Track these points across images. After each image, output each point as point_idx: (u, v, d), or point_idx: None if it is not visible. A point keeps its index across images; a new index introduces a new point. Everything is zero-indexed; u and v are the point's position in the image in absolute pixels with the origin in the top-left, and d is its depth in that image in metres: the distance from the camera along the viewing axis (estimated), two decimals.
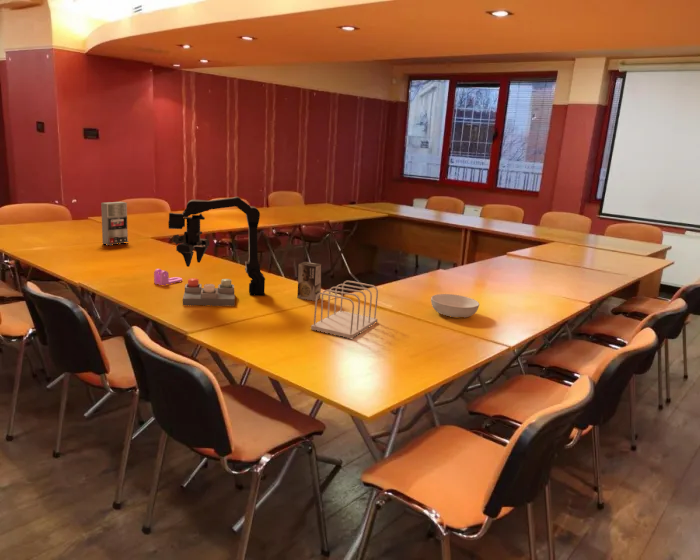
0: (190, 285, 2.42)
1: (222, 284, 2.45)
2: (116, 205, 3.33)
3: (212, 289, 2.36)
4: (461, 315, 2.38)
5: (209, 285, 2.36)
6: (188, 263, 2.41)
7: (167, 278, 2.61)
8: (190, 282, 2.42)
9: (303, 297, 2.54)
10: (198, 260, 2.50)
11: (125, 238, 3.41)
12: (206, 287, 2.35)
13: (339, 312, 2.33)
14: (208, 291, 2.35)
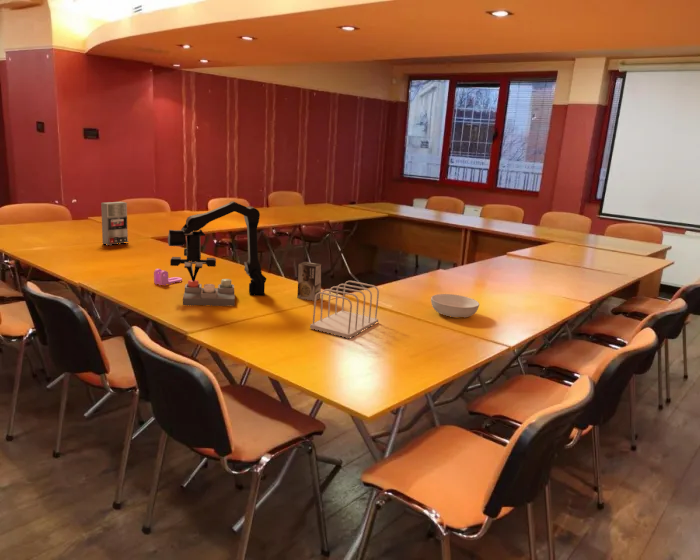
0: (190, 286, 2.42)
1: (222, 284, 2.45)
2: (116, 205, 3.33)
3: (212, 289, 2.36)
4: (461, 315, 2.38)
5: (209, 285, 2.36)
6: (191, 277, 2.43)
7: (167, 278, 2.61)
8: (190, 283, 2.42)
9: (303, 297, 2.54)
10: None
11: (125, 238, 3.41)
12: (206, 287, 2.35)
13: (340, 312, 2.34)
14: (208, 291, 2.35)
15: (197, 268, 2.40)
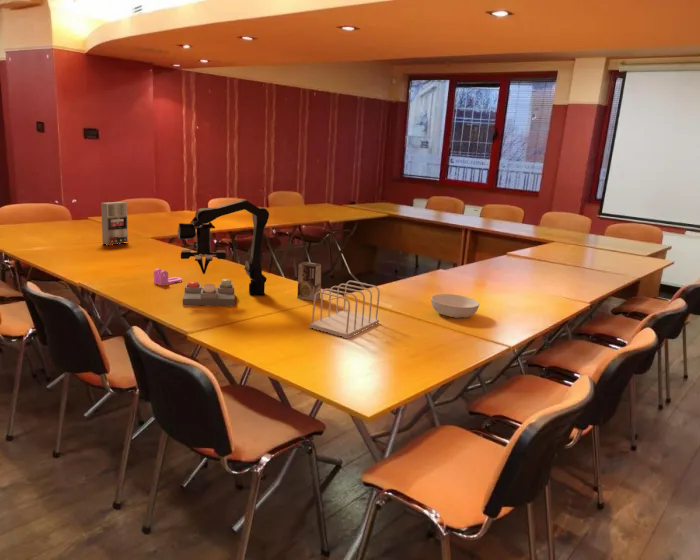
0: None
1: (222, 284, 2.45)
2: (116, 205, 3.33)
3: (212, 289, 2.36)
4: (461, 315, 2.38)
5: (209, 285, 2.36)
6: None
7: (167, 278, 2.61)
8: (190, 285, 2.42)
9: (303, 297, 2.54)
10: None
11: (125, 238, 3.41)
12: (206, 287, 2.35)
13: (342, 312, 2.34)
14: (208, 291, 2.35)
15: (207, 261, 2.40)
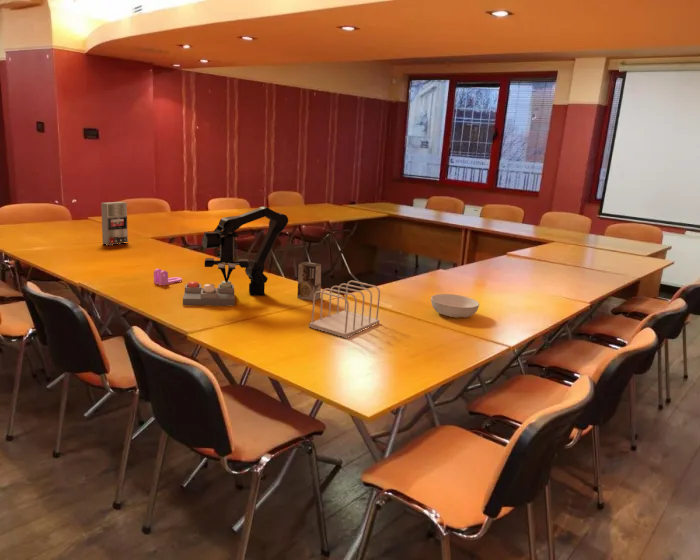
0: None
1: (222, 286, 2.46)
2: (116, 205, 3.33)
3: (212, 289, 2.36)
4: (461, 315, 2.38)
5: (209, 285, 2.36)
6: (224, 278, 2.46)
7: (167, 278, 2.61)
8: (190, 285, 2.42)
9: (303, 297, 2.54)
10: None
11: (125, 238, 3.41)
12: (206, 287, 2.35)
13: (343, 312, 2.34)
14: (208, 291, 2.35)
15: (230, 269, 2.43)
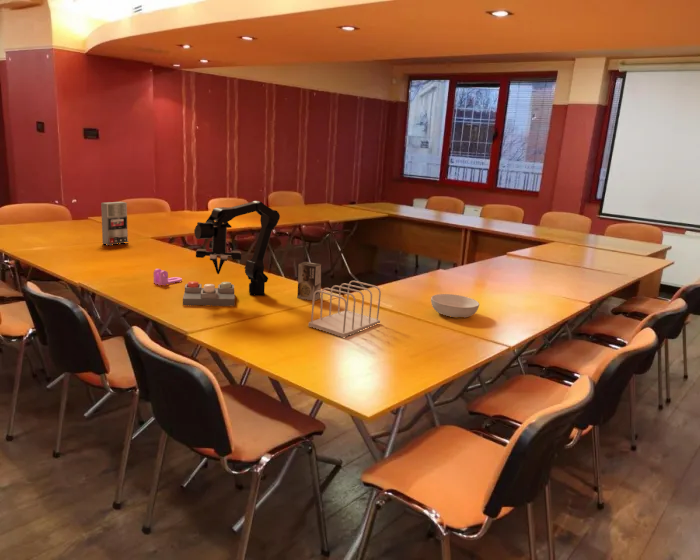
0: None
1: (222, 287, 2.46)
2: (116, 205, 3.33)
3: (212, 289, 2.36)
4: (461, 315, 2.38)
5: (209, 285, 2.36)
6: (216, 270, 2.40)
7: (166, 278, 2.61)
8: (190, 285, 2.42)
9: (303, 297, 2.54)
10: None
11: (125, 238, 3.41)
12: (206, 287, 2.35)
13: (344, 311, 2.35)
14: (208, 291, 2.35)
15: (222, 261, 2.38)
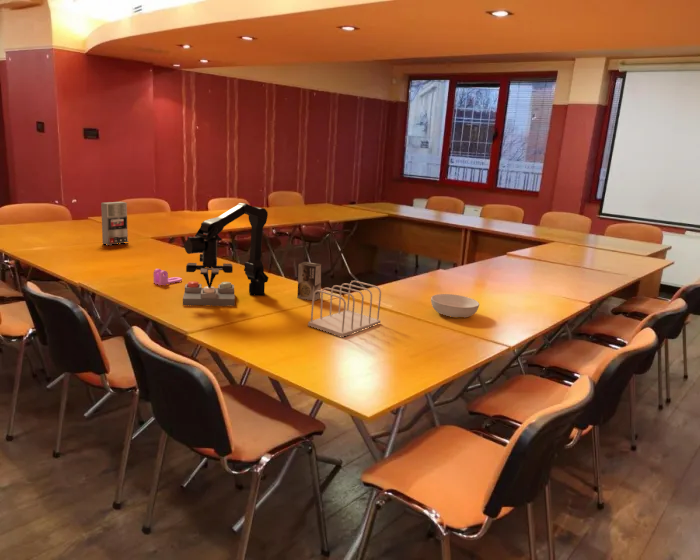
0: None
1: (222, 287, 2.46)
2: (116, 205, 3.33)
3: (212, 291, 2.36)
4: (461, 315, 2.38)
5: None
6: (207, 284, 2.36)
7: (166, 278, 2.61)
8: (190, 285, 2.42)
9: (303, 297, 2.54)
10: None
11: (125, 238, 3.41)
12: (206, 289, 2.35)
13: (345, 311, 2.35)
14: None
15: (213, 274, 2.33)
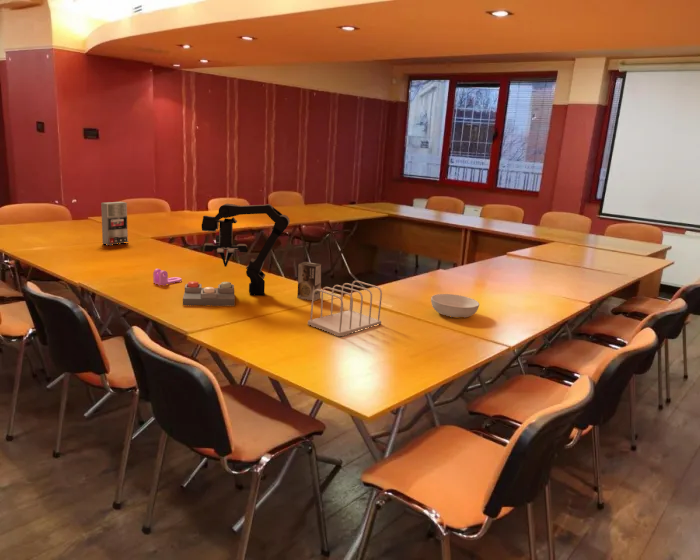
0: None
1: (222, 287, 2.46)
2: (116, 205, 3.33)
3: (212, 292, 2.36)
4: (461, 315, 2.38)
5: (209, 288, 2.37)
6: None
7: (166, 278, 2.60)
8: (190, 285, 2.42)
9: (303, 297, 2.54)
10: None
11: (125, 238, 3.41)
12: (206, 290, 2.35)
13: (347, 311, 2.35)
14: None
15: (230, 254, 2.50)
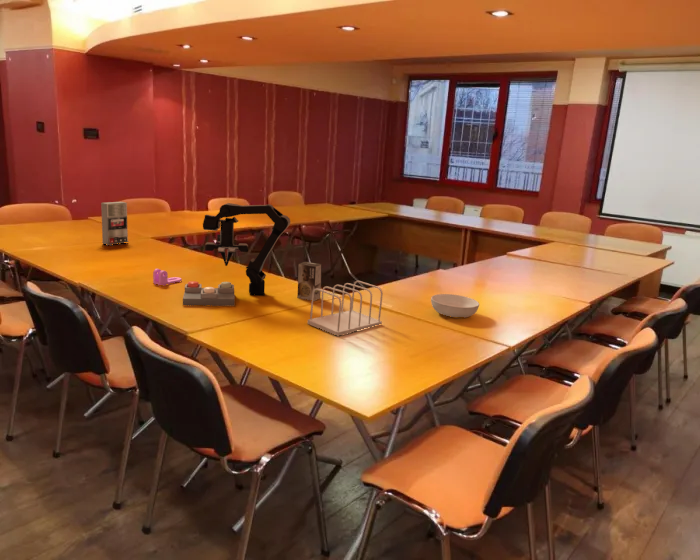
0: None
1: (222, 287, 2.46)
2: (116, 205, 3.33)
3: (212, 292, 2.36)
4: (461, 315, 2.38)
5: (209, 288, 2.37)
6: (224, 262, 2.54)
7: (166, 278, 2.60)
8: (190, 285, 2.42)
9: (303, 297, 2.54)
10: None
11: (125, 238, 3.41)
12: (206, 290, 2.35)
13: (349, 311, 2.35)
14: None
15: (230, 253, 2.51)
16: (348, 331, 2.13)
